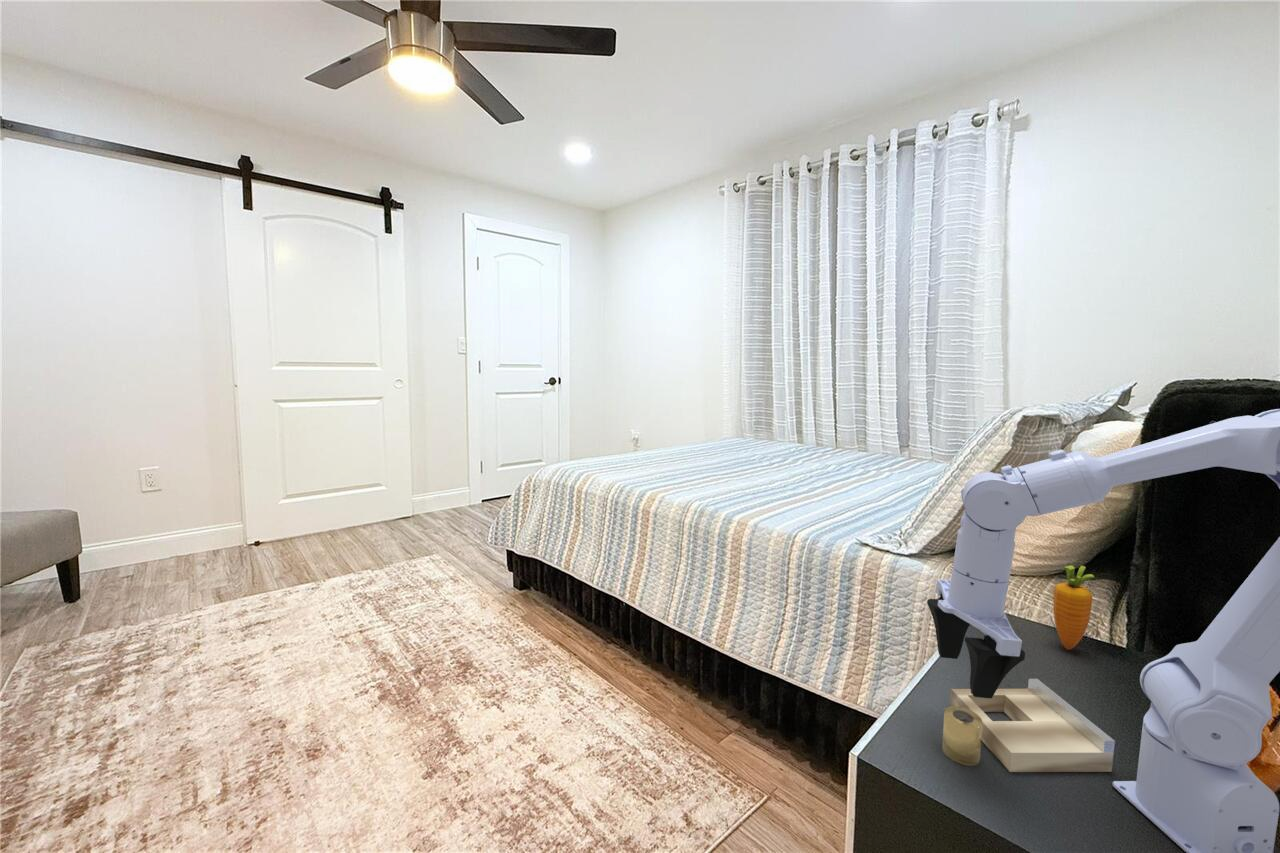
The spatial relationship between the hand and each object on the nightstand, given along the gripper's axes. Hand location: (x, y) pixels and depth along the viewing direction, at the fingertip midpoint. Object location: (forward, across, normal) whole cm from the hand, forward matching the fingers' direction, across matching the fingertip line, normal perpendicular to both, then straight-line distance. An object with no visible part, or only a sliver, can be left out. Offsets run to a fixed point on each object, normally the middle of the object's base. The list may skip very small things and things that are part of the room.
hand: (963, 675), depth 64 cm
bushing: (+10, +1, 0) cm, 10 cm away
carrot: (+9, -24, +31) cm, 40 cm away
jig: (+9, -2, +10) cm, 14 cm away
